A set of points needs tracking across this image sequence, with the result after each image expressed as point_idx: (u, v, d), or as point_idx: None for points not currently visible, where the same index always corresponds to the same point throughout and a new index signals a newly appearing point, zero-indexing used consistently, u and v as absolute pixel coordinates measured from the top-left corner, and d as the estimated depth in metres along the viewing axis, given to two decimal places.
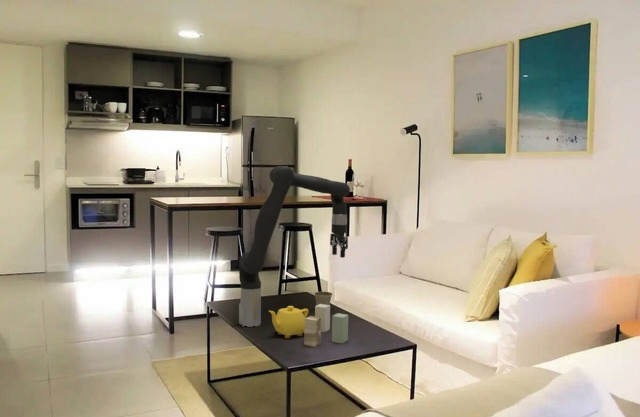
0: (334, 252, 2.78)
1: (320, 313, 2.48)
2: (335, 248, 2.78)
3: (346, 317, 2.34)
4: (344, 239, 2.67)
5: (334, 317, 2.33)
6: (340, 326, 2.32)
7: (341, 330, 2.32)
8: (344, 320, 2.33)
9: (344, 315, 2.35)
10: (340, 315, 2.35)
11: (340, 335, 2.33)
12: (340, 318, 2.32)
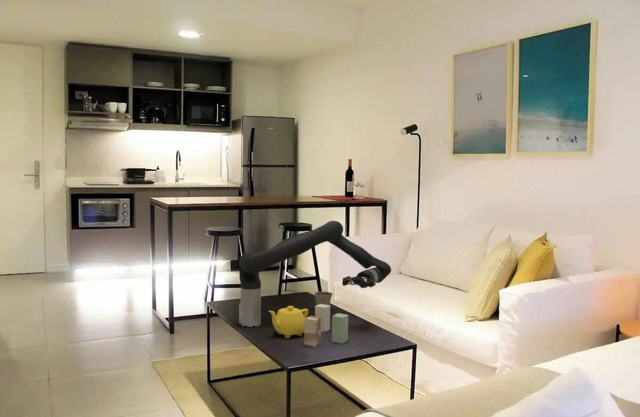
0: (345, 282, 2.47)
1: (320, 313, 2.48)
2: (347, 282, 2.48)
3: (346, 317, 2.34)
4: (375, 281, 2.49)
5: (334, 317, 2.33)
6: (340, 326, 2.32)
7: (341, 330, 2.32)
8: (344, 320, 2.33)
9: (344, 315, 2.35)
10: (340, 315, 2.35)
11: (340, 335, 2.33)
12: (340, 318, 2.32)
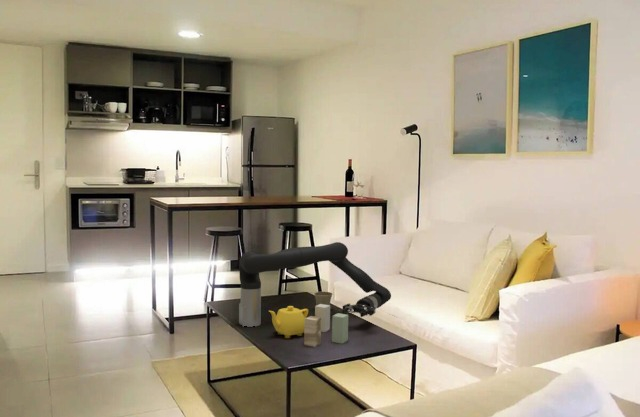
0: (345, 311, 2.48)
1: (320, 313, 2.48)
2: (347, 311, 2.50)
3: (346, 317, 2.34)
4: (374, 309, 2.50)
5: (334, 317, 2.33)
6: (340, 326, 2.32)
7: (341, 330, 2.32)
8: (344, 320, 2.33)
9: (344, 315, 2.35)
10: (340, 315, 2.35)
11: (340, 335, 2.33)
12: (340, 318, 2.32)
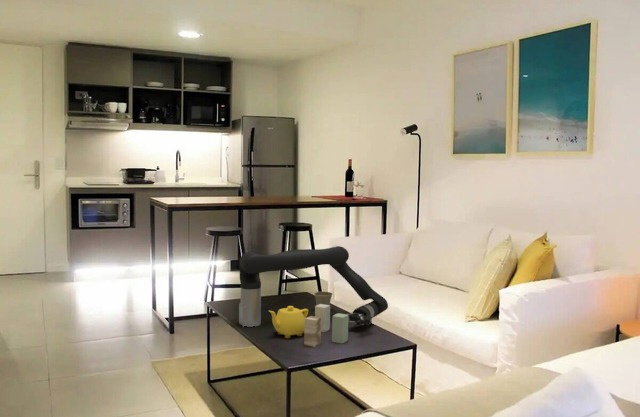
0: None
1: (320, 313, 2.48)
2: None
3: (346, 317, 2.34)
4: (371, 318, 2.47)
5: (334, 317, 2.33)
6: (340, 326, 2.32)
7: (341, 330, 2.32)
8: (344, 320, 2.33)
9: (344, 315, 2.35)
10: (340, 315, 2.35)
11: (340, 335, 2.33)
12: (340, 318, 2.32)
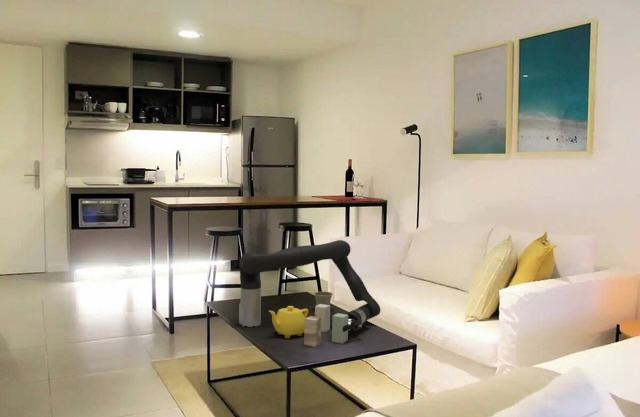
0: None
1: (320, 313, 2.48)
2: None
3: (346, 317, 2.34)
4: (360, 324, 2.38)
5: (334, 317, 2.33)
6: (340, 326, 2.32)
7: (341, 330, 2.32)
8: (344, 320, 2.33)
9: (344, 315, 2.35)
10: (340, 315, 2.35)
11: (340, 335, 2.33)
12: (340, 318, 2.32)
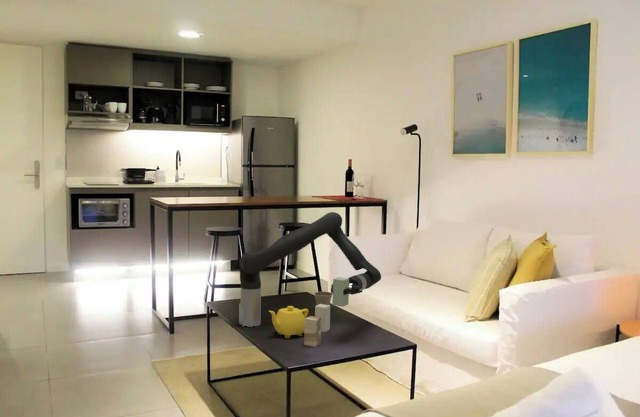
0: None
1: (320, 313, 2.48)
2: None
3: (347, 280, 2.33)
4: (361, 288, 2.36)
5: (335, 280, 2.32)
6: (340, 289, 2.31)
7: (342, 293, 2.31)
8: (345, 283, 2.32)
9: (345, 278, 2.34)
10: (341, 278, 2.33)
11: (341, 298, 2.31)
12: (341, 281, 2.31)
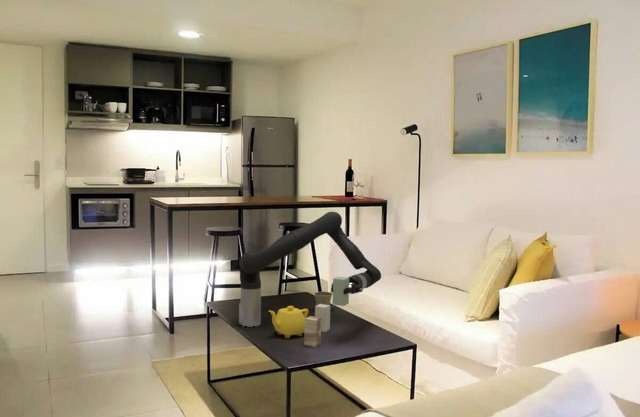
0: None
1: (320, 313, 2.48)
2: None
3: (347, 280, 2.33)
4: (361, 287, 2.36)
5: (335, 280, 2.32)
6: (341, 288, 2.31)
7: (342, 293, 2.31)
8: (345, 282, 2.32)
9: (345, 278, 2.34)
10: (341, 278, 2.33)
11: (341, 298, 2.31)
12: (341, 280, 2.31)
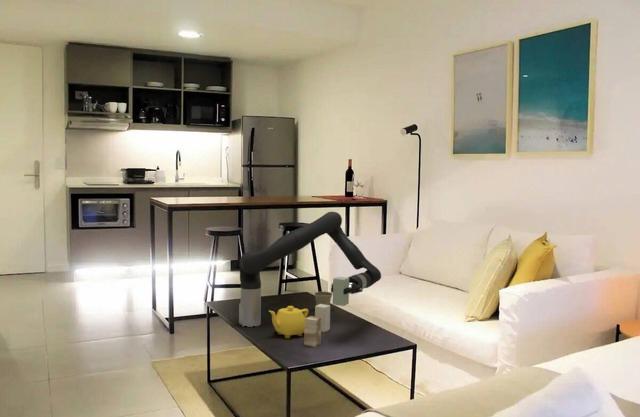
0: None
1: (320, 313, 2.48)
2: None
3: (347, 280, 2.33)
4: (361, 287, 2.36)
5: (335, 280, 2.32)
6: (341, 288, 2.31)
7: (342, 293, 2.31)
8: (345, 282, 2.32)
9: (345, 278, 2.34)
10: (341, 278, 2.33)
11: (341, 298, 2.31)
12: (341, 280, 2.31)
